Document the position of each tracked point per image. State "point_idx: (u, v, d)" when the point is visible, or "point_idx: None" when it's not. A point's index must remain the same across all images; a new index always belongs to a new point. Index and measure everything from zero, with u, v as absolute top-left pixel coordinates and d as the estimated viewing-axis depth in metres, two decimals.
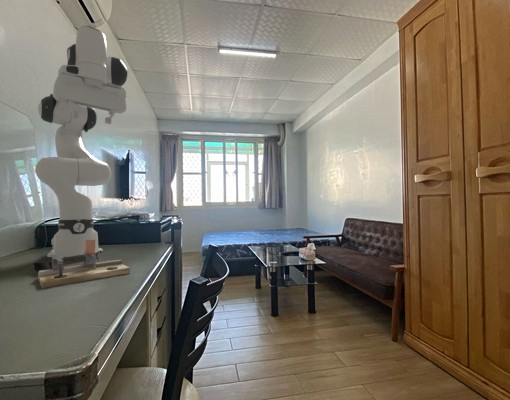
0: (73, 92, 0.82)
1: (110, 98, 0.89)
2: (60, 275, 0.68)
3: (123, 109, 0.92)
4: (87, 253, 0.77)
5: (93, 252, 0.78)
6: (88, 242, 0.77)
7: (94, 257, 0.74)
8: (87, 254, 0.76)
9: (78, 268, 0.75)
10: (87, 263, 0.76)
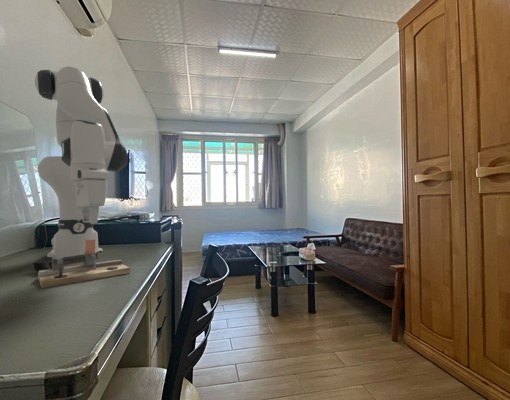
0: None
1: None
2: (60, 275, 0.68)
3: None
4: (87, 253, 0.77)
5: (93, 252, 0.78)
6: (88, 242, 0.77)
7: (94, 257, 0.74)
8: (87, 254, 0.76)
9: (78, 268, 0.75)
10: (87, 263, 0.76)
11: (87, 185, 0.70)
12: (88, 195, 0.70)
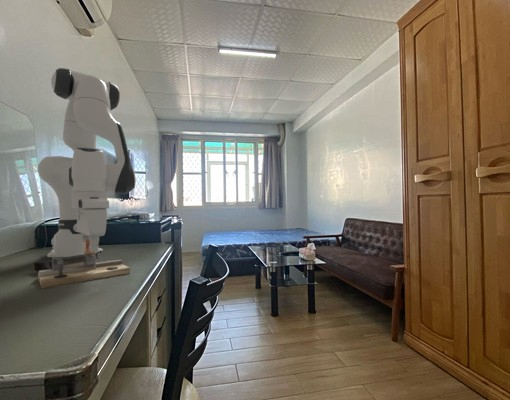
0: None
1: None
2: (60, 275, 0.68)
3: None
4: (87, 253, 0.77)
5: (93, 252, 0.78)
6: (88, 242, 0.77)
7: (94, 257, 0.74)
8: (87, 254, 0.76)
9: (78, 268, 0.75)
10: (87, 263, 0.76)
11: (88, 216, 0.70)
12: (89, 226, 0.70)
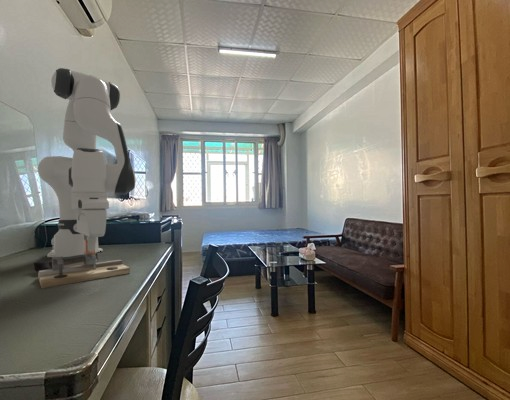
0: None
1: None
2: (60, 275, 0.68)
3: None
4: (87, 253, 0.77)
5: (93, 252, 0.78)
6: None
7: (94, 257, 0.74)
8: (87, 254, 0.76)
9: (78, 268, 0.75)
10: (87, 263, 0.76)
11: (87, 216, 0.70)
12: (88, 226, 0.70)
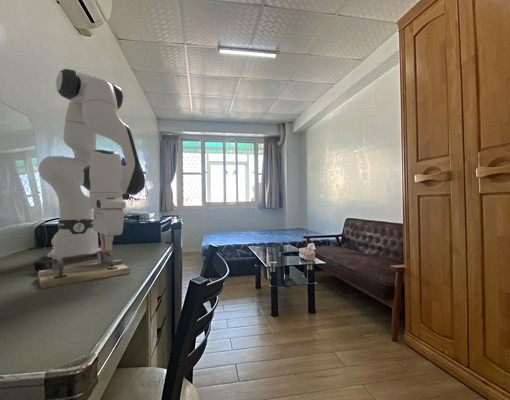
0: None
1: None
2: (60, 275, 0.68)
3: None
4: (104, 251, 0.80)
5: (110, 250, 0.81)
6: None
7: (112, 255, 0.77)
8: (104, 252, 0.79)
9: (78, 268, 0.75)
10: (104, 261, 0.79)
11: (106, 216, 0.73)
12: (107, 225, 0.73)
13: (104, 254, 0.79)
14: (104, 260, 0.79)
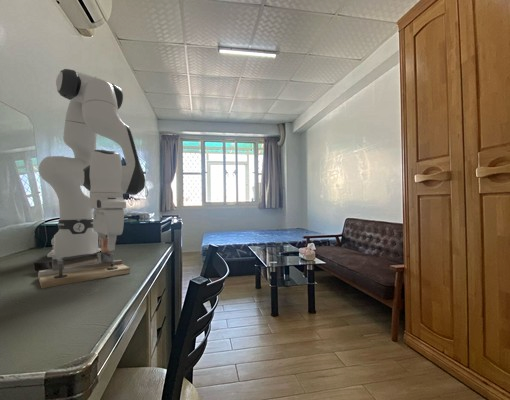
0: None
1: None
2: (60, 275, 0.68)
3: None
4: (104, 251, 0.80)
5: None
6: (105, 240, 0.80)
7: (112, 255, 0.77)
8: (104, 252, 0.79)
9: (78, 268, 0.75)
10: (104, 261, 0.79)
11: (106, 216, 0.73)
12: (107, 225, 0.73)
13: (104, 254, 0.79)
14: (104, 260, 0.79)
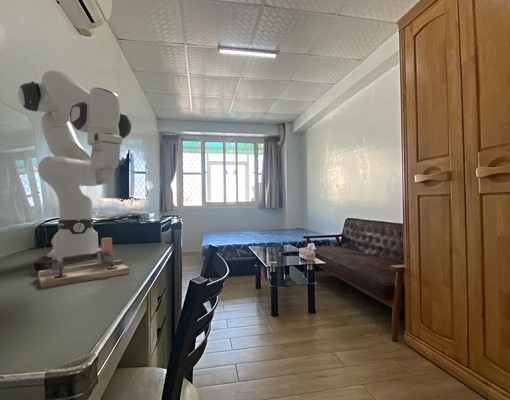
0: None
1: None
2: (60, 275, 0.68)
3: None
4: (104, 251, 0.80)
5: (110, 250, 0.81)
6: (105, 240, 0.80)
7: (112, 255, 0.77)
8: (104, 252, 0.79)
9: (78, 268, 0.75)
10: (104, 261, 0.79)
11: (103, 147, 0.77)
12: (104, 156, 0.77)
13: (104, 254, 0.79)
14: (104, 260, 0.79)
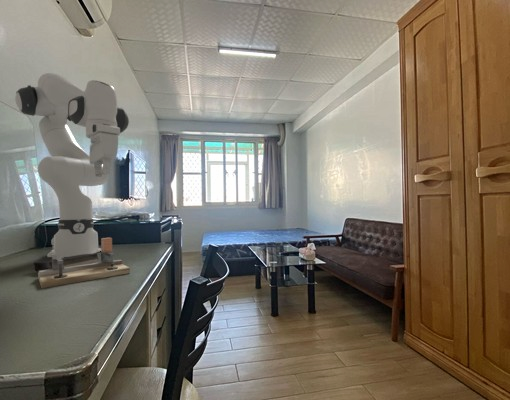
0: None
1: None
2: (60, 275, 0.68)
3: None
4: (104, 251, 0.80)
5: (110, 250, 0.81)
6: (105, 240, 0.80)
7: (112, 255, 0.77)
8: (104, 252, 0.79)
9: (78, 268, 0.75)
10: (104, 261, 0.79)
11: (101, 137, 0.77)
12: (102, 146, 0.77)
13: (104, 254, 0.79)
14: (104, 260, 0.79)
